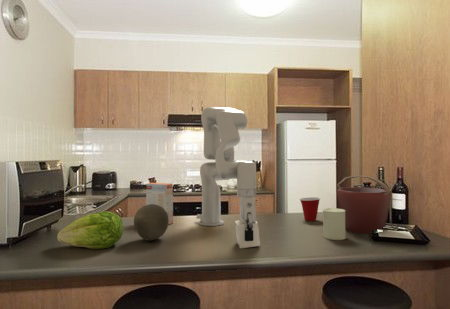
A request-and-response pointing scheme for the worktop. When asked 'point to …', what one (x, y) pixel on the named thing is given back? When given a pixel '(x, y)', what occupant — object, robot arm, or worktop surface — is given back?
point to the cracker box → (161, 197)
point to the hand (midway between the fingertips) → (247, 237)
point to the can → (334, 223)
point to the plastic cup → (310, 208)
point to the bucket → (364, 206)
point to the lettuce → (93, 231)
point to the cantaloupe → (151, 222)
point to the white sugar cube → (241, 235)
